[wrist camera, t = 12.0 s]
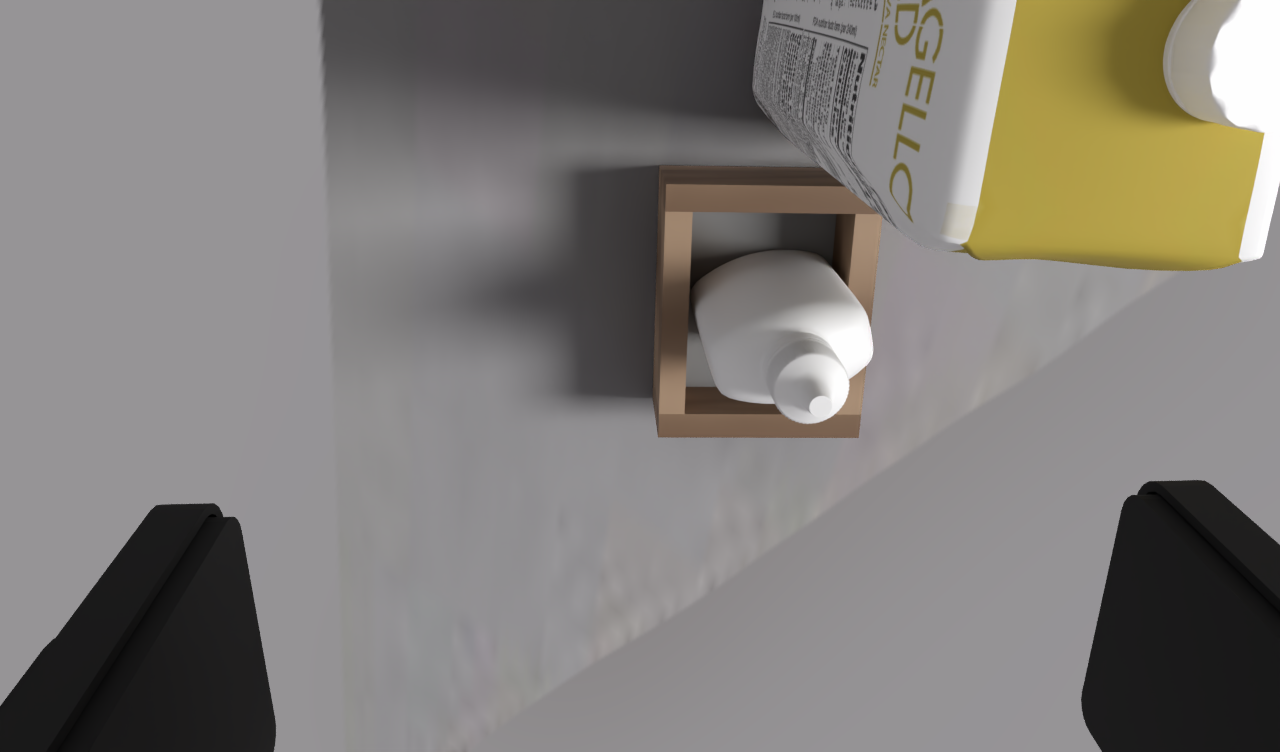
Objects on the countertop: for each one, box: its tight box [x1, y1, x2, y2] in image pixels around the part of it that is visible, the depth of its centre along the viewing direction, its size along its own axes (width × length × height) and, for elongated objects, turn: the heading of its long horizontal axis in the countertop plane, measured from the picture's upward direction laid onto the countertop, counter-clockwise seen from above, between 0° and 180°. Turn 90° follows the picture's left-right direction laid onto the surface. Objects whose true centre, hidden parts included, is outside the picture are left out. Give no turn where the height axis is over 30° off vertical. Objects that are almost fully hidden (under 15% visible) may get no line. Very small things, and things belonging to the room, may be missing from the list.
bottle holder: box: [653, 165, 882, 438], centre depth 41 cm, size 10×8×4 cm
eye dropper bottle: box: [690, 250, 873, 424], centre depth 36 cm, size 4×6×12 cm
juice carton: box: [752, 0, 1280, 271], centre depth 28 cm, size 9×8×24 cm
